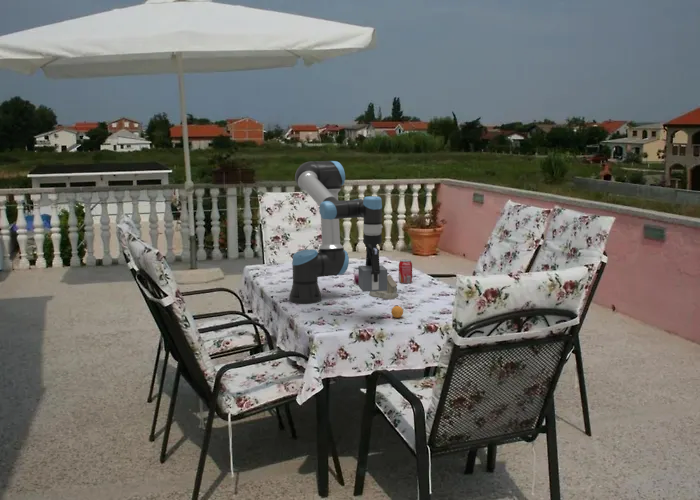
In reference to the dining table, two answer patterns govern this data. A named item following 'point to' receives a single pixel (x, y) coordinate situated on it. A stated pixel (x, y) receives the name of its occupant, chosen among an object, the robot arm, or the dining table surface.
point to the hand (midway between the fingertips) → (372, 286)
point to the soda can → (405, 271)
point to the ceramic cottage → (390, 292)
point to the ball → (397, 311)
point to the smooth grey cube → (366, 278)
